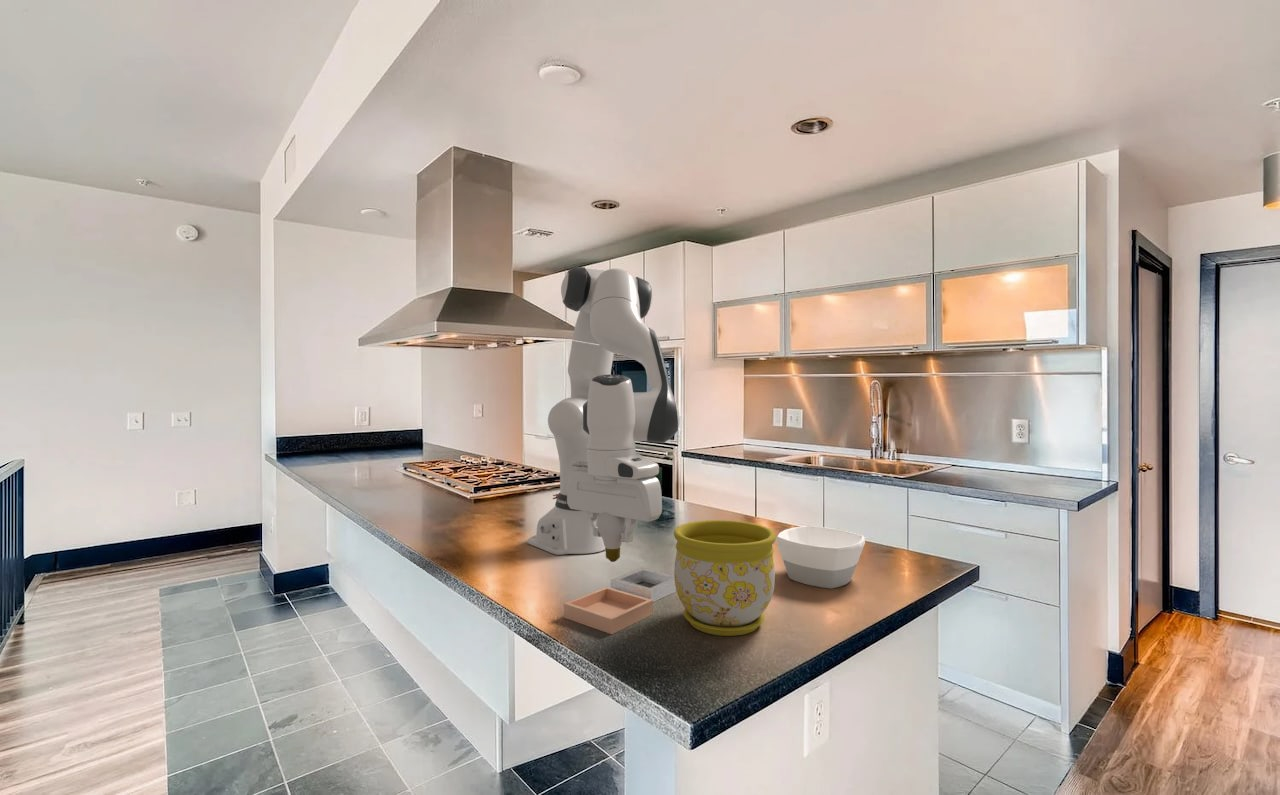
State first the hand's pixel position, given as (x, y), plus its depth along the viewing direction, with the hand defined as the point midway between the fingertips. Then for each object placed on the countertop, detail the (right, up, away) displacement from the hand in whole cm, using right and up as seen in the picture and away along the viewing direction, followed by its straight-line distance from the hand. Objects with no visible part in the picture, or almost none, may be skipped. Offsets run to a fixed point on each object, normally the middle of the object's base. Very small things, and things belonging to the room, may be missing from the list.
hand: (612, 538), depth 111 cm
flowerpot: (+20, -15, -2) cm, 25 cm away
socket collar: (+6, -14, +14) cm, 21 cm away
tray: (-1, -14, 0) cm, 14 cm away
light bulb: (0, -4, 0) cm, 4 cm away
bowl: (+45, -14, +22) cm, 52 cm away
